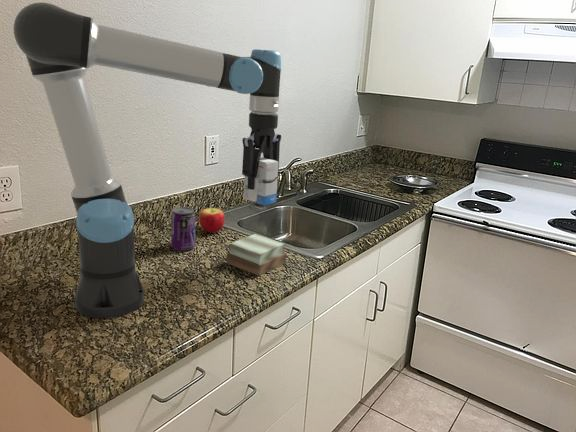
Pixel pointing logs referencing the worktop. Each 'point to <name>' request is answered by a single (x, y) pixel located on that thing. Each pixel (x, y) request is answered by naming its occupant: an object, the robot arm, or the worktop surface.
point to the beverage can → (183, 228)
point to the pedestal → (256, 254)
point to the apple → (211, 219)
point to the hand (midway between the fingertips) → (259, 198)
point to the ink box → (265, 182)
